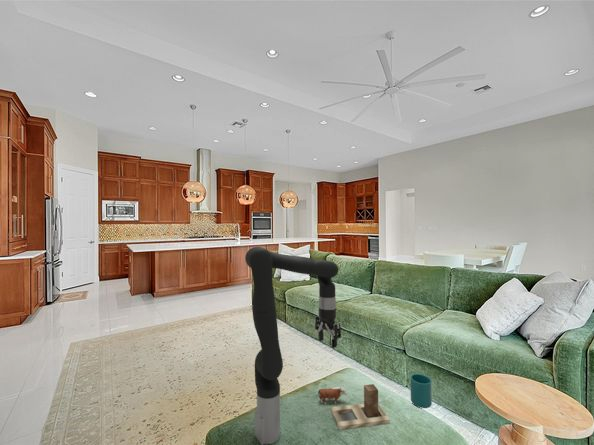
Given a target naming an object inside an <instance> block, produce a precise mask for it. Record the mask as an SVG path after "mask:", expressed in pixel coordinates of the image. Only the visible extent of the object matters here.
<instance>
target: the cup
mask: <svg viewBox="0 0 594 445" xmlns="http://www.w3.org/2000/svg"><path fill="white" fill-rule="evenodd" d="M432 390H433V389H432V379H431V378H430V377H429V376H427V375H425V374H421V373H413V374H411V375H410V401H411V403H412V404H413V405H414V406H415V407H418V408H421V409H429V408H431V407H432V405H433V404H432V402H433V399H432V398H433V397H432Z"/></svg>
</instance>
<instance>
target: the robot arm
mask: <svg viewBox="0 0 594 445" xmlns="http://www.w3.org/2000/svg"><path fill="white" fill-rule="evenodd" d="M244 257H245V260H244V261H245V263H246V266H247V267H249V268H250V270H251V275H252V279H253V293H252V301H251V309H252V310H251V311H252V320H253V326H254V327H255V328H254V329H255V332H256V333H257V334H256V335H257V337H258V340H259V343H260V350H259V351H258V353H257V354H256V356H255V360H254V382H255V386H256V387H255V388H256V411H254V437H255V438H256V440H257V441H258V442H259V444H260V445H271V444H275V443H276V442H277V441H278V440H279V439H280V437H281V384H280V382H279V377H280V376H281V374H282V373H283V369H284V366H283V365H284V363H283V362H284V361H283V356H282V352H281V346H280V340H279V331H278V319H277V318H278V317H277V308H276V299H275V291H274V283H273V269H278V270H283V271H287V272H291V273H295V274H296V273H297V274H301V275H302V274H303V275H311V276H312V275H313V276H317V281H318V286H319V289H318V290H319V291H318V294H319V296H318V315H317V316H315V318H314V319H315V322H314V323H315V324H314V329H315V330H317V332H318V341H319V342H322V341H324V331H327V332H328V335H330V337H331V348H333V349H335V348H337V346H338V339H341V338H342V332H341V331H342V330H341V323H339V322H338V323H336V321H335V320H336V318H337V299H336V285H335V283H334V282H333V281H332V278H334V277H336V276H337V275H338V272H339V267H338V264H336V262H334V261H331V260H325V259H324V260H320V259H315V258H312V257H308V256H307V257H306V256H299V255H290V254H283V253H276V252H274V251H270V250H268V249H267V248H264V247H261V246H254V247H251V248H250V249H248V250H247V252H246V254H245V256H244Z"/></svg>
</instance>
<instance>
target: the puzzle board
mask: <svg viewBox="0 0 594 445" xmlns="http://www.w3.org/2000/svg"><path fill="white" fill-rule="evenodd" d="M330 412H331V414H332V417H333V419H334V421H335V423H336V426H337V428H338V430H339V431H342V430H343V431H344V430H350V429H357V428H358V429H359V428H367V427H373V426H380V425H387V424H390V423H391V422H390V421H391V420H390V418H389V416H388V415H387V414H386V412H385V411H384V410H383V408H382V407H381V405H380V404H379V403H378V417H372V418H367V416H366V415H365V413H364V402H363V403H357V404H356V403H355V404H346V405H340V406H339V405H338V406H332V407H330Z"/></svg>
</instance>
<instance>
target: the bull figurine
mask: <svg viewBox="0 0 594 445" xmlns="http://www.w3.org/2000/svg"><path fill="white" fill-rule="evenodd" d="M317 394H318V396H319V401H320V402H321V404H324V405H327V402H326V399H327V400H328V401H330V400H333V399H334V404H335V405H337V402H338V401H339V399H340V398H341V397H342V396H347V394H348V392H347V390H346V388H345V387H344V386H336V387H329V388H321V389H319V390H318V392H317Z"/></svg>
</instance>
